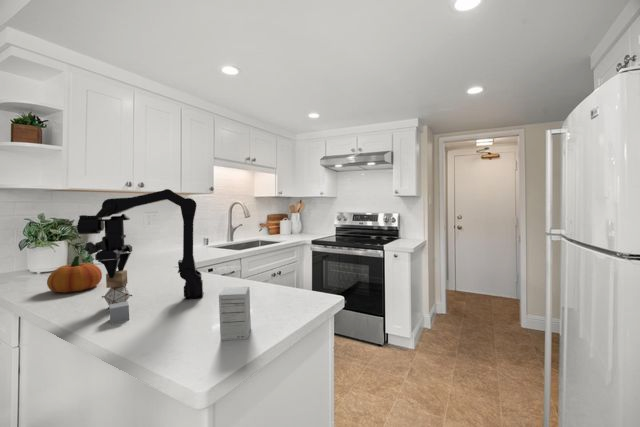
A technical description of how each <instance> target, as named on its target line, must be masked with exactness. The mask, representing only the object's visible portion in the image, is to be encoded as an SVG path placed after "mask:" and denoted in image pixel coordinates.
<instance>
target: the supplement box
mask: <svg viewBox="0 0 640 427" xmlns="http://www.w3.org/2000/svg"><path fill="white" fill-rule="evenodd" d="M250 292H251V291H250V286H231V287H224V288H223V290H222V291H221V292H220V293H219V295H218V303H219V304H218V307H219V308H218V309H219V311H218V312H219V313H218V314H219V330H220V331H219V334H220V337H219V338H220V341H237V340H247V339H248V338H249V335H250V333H251V329H252V325H251V324H252V323H251V321H252V320H251V295H250Z"/></svg>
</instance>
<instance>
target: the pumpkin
mask: <svg viewBox="0 0 640 427" xmlns="http://www.w3.org/2000/svg"><path fill="white" fill-rule="evenodd" d="M102 277H103V272H102V270H101V269H100V267H99V266H98V265H96V264H93V263H89V262H87V263H86V262H80V255H76V256H74V258H73V260H72V261H71V263H70V264H66V265H61V266H60V267H58V268H56V269H55V270H53V271H52V272H51V273H50V274H49V275H48V276H47V280H46V285H47V288H48V289H49V290H50V291H51V292H54V293H55V292H56V293H67V294H68V293H69V294H70V293H76V292H82V291H85V290H89V289H92V288H95V287H96V286H97V285H99V284H100V282H102V281H101V280H102V279H103V278H102Z"/></svg>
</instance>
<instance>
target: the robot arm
mask: <svg viewBox="0 0 640 427" xmlns="http://www.w3.org/2000/svg"><path fill="white" fill-rule="evenodd" d="M163 201H170V202H171V203H173V204H175V205H176V206H178V207H180V212H181V216H182V223H183V225H182V226H183V233H182V234H183V240H182V242H183V244H182V251H183V252H182V255H183V256H182V259H179V260H178V261H177V266H178V270H177V273H178V274H179V276H180V278H181V279H182V280H184V281H185V282H184V286H183V297H184V300H192V299H195V300H196V299H201V298H203V296H204V288H203V283H204V282H203V279H202V272H200V271H199V270H197V267H196V266H197V265H196V262H195V257H194V222H195V221H194V220H195V216H196V212H197V201H195V200H194V199H193V198H191V197H190V198H189V197H186V198H185V197H183V196H181V195H179V194H178V193H176V192H174V191H173V190H172V189H169V188H165V189H163V190H159V191H155V192H154V191H153V192H149V193H146V194H145V193H144V194H142V195H136V196H132V197H117V198H116V197H115V198H107V199H104V201H103V202H102V204H101V209H100V210H99V211H98V212H97V213H96V214H95V215H85V214H84V215H79V219H78V221H77V224H76V230H77V233H78V234H79V235H97V234H98V235H100V234H101V231H102V232H103V231H104V236H102V237H101V241H98V242H94V241H89V242H87V243H85V246H84V251H85V252H87V253H88V255H89V256H90V255H93V254H94V257H95V261H97V262H98V263H101V264H102V265H104V268H105V270H106V274H107V273H108V275H109V277H110V278H113V277H114V275H115V272H116V271H121V270H124V269H125V267H126V265H127V263H128V260H129V258H130V257H131V256H130V255H131V254H132V252H133V246H132V245H131V244H125V238H126V237H127V236H126V234H125V228H124V225H125V224H124V221H129V220H130V219H131V218H130V217H129V216H127V215H126V213H124V212H126V211H129V210H131V209H133V208H137V207H141V206H145V205H149V204H153V203H158V202H163ZM118 214H121V215H118ZM109 217H110V218H109ZM104 218H105V219H104ZM106 218H107V219H106Z"/></svg>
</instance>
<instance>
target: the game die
mask: <svg viewBox="0 0 640 427" xmlns="http://www.w3.org/2000/svg"><path fill="white" fill-rule="evenodd" d="M132 296H133V294H130V292H129V290H128V288H127V284H126V285H124V286H123V287H113V288H108V290H107V291H106V293H105V295H102V296H101V298H104V300H105V302H106V303H107V305H108V308H107V309H109V305H110V304H115V303H121V302H126V301H128V299H129V298H130V297H132ZM109 310H110V309H109Z"/></svg>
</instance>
